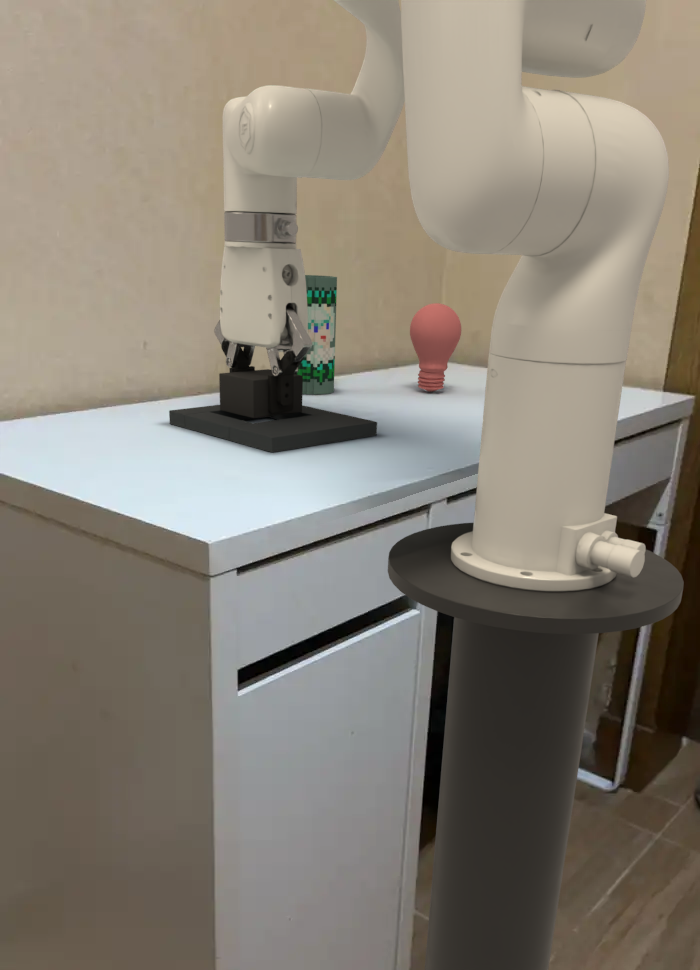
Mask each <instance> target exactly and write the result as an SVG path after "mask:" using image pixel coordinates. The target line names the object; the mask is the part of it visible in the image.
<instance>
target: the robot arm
mask: <svg viewBox="0 0 700 970" xmlns="http://www.w3.org/2000/svg"><path fill="white" fill-rule="evenodd" d="M333 2H334V3H336V4H337V5H338V6H340V7H341V8H343V9H344V10H345V11H347V12H348V13H349V14H351V15H352V16H353V17H354V18H355V19H357V21H359V22H360V23H362V25H364V29H365V37H366V39H365V52H364V57H363V61H362V65H361V68H360V70H359V73H358V76H357V78H356V80H355V84H354V86H353V88H352V91H351V92H350V93H346V92H339V91H332V90H331V91H330V90H323V89H316V88H308V87H307V88H306V87H303V88H302V87H295V86H285V85H276V84H271V85H270V84H268V85H267V84H266V85H261V86H259V87H257V88H255V89H253V90H252V91H251V92H250V93H249V94H248V95H246V96H238V97H233V98H231V99H230V100H228V101H227V102H226V104H225V105H224V107H223V110H222V166H223V167H222V171H223V172H222V173H223V174H222V175H223V180H222V181H223V212H224V213H223V224H224V227H223V228H224V229H223V230H224V231H223V233H224V236H223V237H224V245H223V246H224V247H223V253H222V260H221V261H222V262H221V270H220V288H219V320H218V322H217V324H216V325H215V327H214V330H213V332H214V335H215V337H216V339H217V340H218V342H219V344H220V347H221V350H222V352H223V354H224V356H225V364H226V367H227V368H229V373H231V372H242V371H254V370H256V367H255V365H254V366H253V365H251V364H252V361H253V356H254V353H255V349H256V347H258V348H260V347H261V348H265V349H266V353H267V357H268V361H269V366H270V370H272V374H273V375H268V411H269V412H270V413H281V412H289V411H292V410H293V407H294V374H297V372H298V366H299V365H300V364H301V362H302V361H303V358H304V356H305V355H306V354H307V352H308V351H309V350H310V348H311V347H312V340H311V339H310V337H309V335H308V311H307V291H306V280H305V275H306V272H305V264H304V259H303V254H302V250H301V248H297V234H298V231H299V227H298V224H297V221H298V215H297V214H298V211H297V210H298V178H299V179H302V178H309V179H322V180H323V179H324V180H336V181H355V180H358V179H361V178H363V177H364V176H366V175H367V174H369V173H370V172H372V171H373V169H374V168H375V166H376V165H378V162H380V159H381V158H382V156H383V154H384V152H385V151H386V149H387V146H388V144H389V142H390V139H391V138H392V135H393V132H394V130H395V128H396V125H397V123H398V120H399V118H400V116H401V114H402V112H403V108H404V114H405V115H404V116H405V135H406V136H405V138H406V156H407V173H408V184H409V188H410V189H409V190H410V197H411V201H412V206H413V209H414V212H415V215H416V217H417V220H418V222H419V224H420V226H421V227H422V229H423V231H424V232H425V234H426V235H427V236H428V237H429V238H430V239H431V240H432V241H433V242H434V243H435V244H437V245H439V246H440V247H442V248H444V249H446V250H449V251H452V252H457V253H462V254H471V255H472V254H473V255H474V254H475V255H500V256H501V255H502V256H505V255H506V256H520V257H519V260H518V262H517V264H516V266H515V267H514V269H513V271H512V273H511V274H510V277H509V278H508V280H507V283H506V284H505V286H504V288H503V290H502V293H501V295H500V297H499V299H498V302H497V305H496V308H495V312H494V313H493V314H494V315H493V319H492V324H491V331H490V338H489V339H490V340H489V349H488V350H489V351H488V357H487V366H486V367H487V368H486V382H485V391H484V401H483V413H482V423H481V425H482V426H481V437H480V445H479V446H480V447H479V457H478V458H479V459H478V469H477V480H476V481H477V482H476V491H475V492H476V493H475V502H474V503H475V504H474V515H473V516H474V517H473V523H474V525H473V531H472V532H469V533H466V534H463V535H461V536H460V537H458V538H456V540H455V541H454V542H453V543H452V546H451V560H452V562H453V564H454V565H455V566H456V567H457V568H458V569H460V570H461V571H462V572H464V573H466V574H468V575H470V576H472V577H474V578H477V579H479V580H482V581H485V582H488V583H492V584H495V585H500V586H504V587H509V588H515V589H522V590H529V591H542V592H569V591H580V590H587V589H592V588H596V587H599V586H602V585H604V584H606V583H609V582H610V581H611V580H612V579H614V578H615V577H616V574H617V573H619V574H623V575H626V576H629V577H637V576H638V575H639V574H640V572H641V570H642V568H643V565H644V562H645V555H644V554H645V551H646V550H647V548H646V544H645V543H643V542H639V541H635V540H632V539H628V538H627V539H625V538H621V537H619V535H618V534H617V533H616V527H617V520H618V516H617V515H614V514H613V515H612V514H609V513H606V512H605V509H606V504H607V496H608V489H609V482H610V476H611V475H610V474H611V468H612V461H613V454H614V447H615V440H616V434H617V427H618V420H619V413H620V407H621V406H620V405H621V399H622V398H621V397H622V392H623V386H624V379H625V378H624V377H625V371H626V364H627V360H628V356H629V355H628V353H629V348H630V340H631V333H632V328H633V323H634V322H633V321H634V315H635V311H636V304H637V299H638V296H639V295H638V294H639V290H640V285H641V281H642V277H643V273H644V269H645V266H646V262H647V259H648V256H649V252H650V249H651V247H652V244H653V240H654V238H655V235H656V232H657V228H658V226H659V223H660V219H661V215H662V212H663V210H664V207H665V202H666V198H667V194H668V188H669V180H670V163H669V162H670V161H669V160H670V159H669V154H668V150H667V147H666V143H665V141H664V138H663V136H662V134H661V132H660V131H659V129H658V128H657V126H656V125H655V124H654V122H653V121H652V120H651V119H650V118H649V117H648V116H647V115H646V114H644V113H643V112H642V111H640V110H639V109H637V108H635V107H634V106H631V105H629V104H626V103H625V102H623V101H620V100H616V99H613V98H609V97H605V96H600V95H599V96H598V95H593V94H587V93H581V92H580V93H579V92H573V91H567V90H566V91H565V90H560V89H545V88H538V87H532V86H525V85H523V84H522V81H523V78H522V75H523V73H526V74H532V75H541V76H547V77H559V78H570V79H571V78H572V79H584V78H590V77H591V78H592V77H595V76H599V75H602V74H605V73H607V72H609V71H611V70H612V69H614V68H615V67H617V66H619V65H620V64H621V63H622V62H623V61H624V60H625V59H626V58H627V56H628V55H629V54H630V52H631V51H632V50H633V48H634V46H635V45H636V42H637V41H638V38H639V36H640V33H641V30H642V26H643V23H644V19H645V15H646V6H647V0H333ZM242 348H243V349H242ZM280 353H283V356H282V357H281V356H280Z"/></svg>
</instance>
